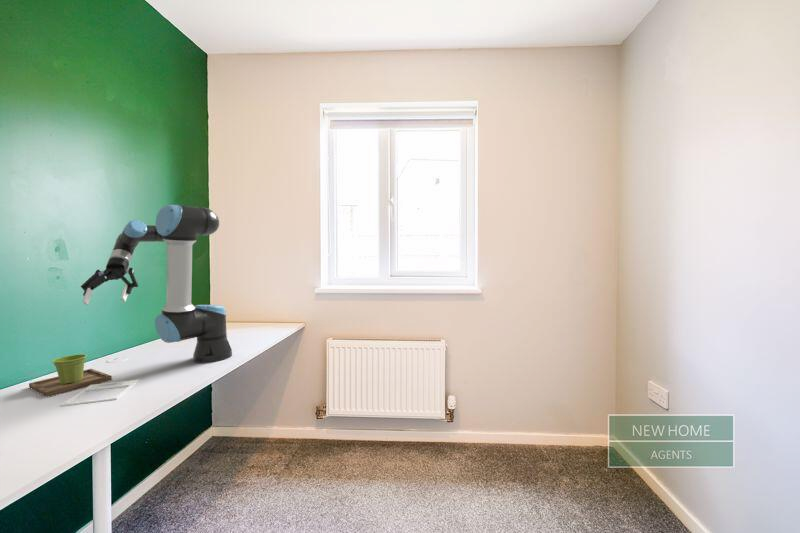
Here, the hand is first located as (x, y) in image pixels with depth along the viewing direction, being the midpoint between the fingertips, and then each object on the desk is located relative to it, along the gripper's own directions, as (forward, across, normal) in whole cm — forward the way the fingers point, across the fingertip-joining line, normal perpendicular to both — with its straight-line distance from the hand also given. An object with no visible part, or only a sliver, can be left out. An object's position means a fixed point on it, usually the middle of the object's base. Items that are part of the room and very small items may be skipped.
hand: (104, 301), depth 153 cm
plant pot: (+32, +4, -5) cm, 32 cm away
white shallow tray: (+42, -13, +4) cm, 44 cm away
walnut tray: (+32, +4, -5) cm, 33 cm away
